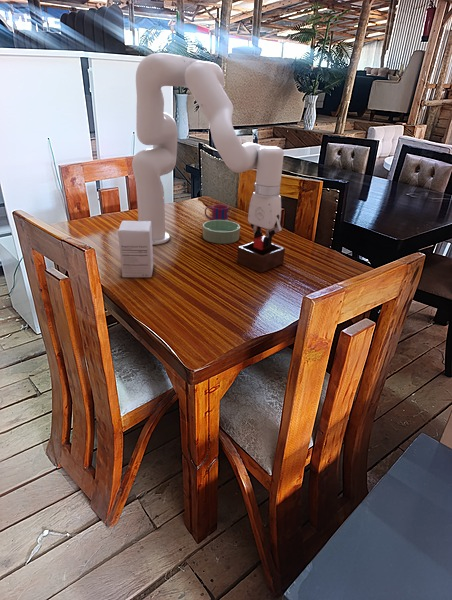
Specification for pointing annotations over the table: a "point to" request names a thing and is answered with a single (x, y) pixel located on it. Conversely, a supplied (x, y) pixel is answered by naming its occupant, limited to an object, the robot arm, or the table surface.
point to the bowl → (221, 231)
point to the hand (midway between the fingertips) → (262, 245)
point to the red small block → (259, 242)
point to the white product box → (136, 248)
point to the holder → (260, 257)
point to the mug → (219, 212)
